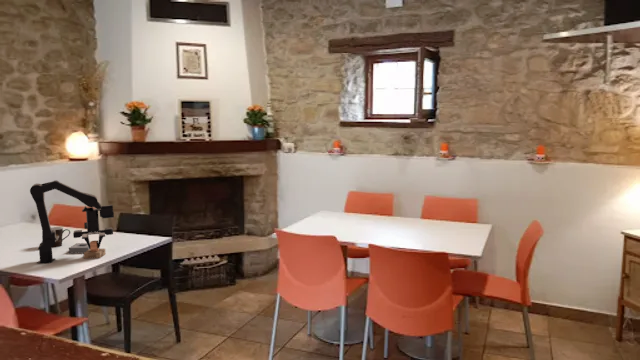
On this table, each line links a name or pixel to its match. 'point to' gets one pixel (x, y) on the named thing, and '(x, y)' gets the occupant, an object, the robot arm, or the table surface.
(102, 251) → the tan flat square block
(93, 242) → the peg
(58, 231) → the coffee mug
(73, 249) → the port
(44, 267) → the table surface
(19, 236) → the table surface
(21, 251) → the table surface
